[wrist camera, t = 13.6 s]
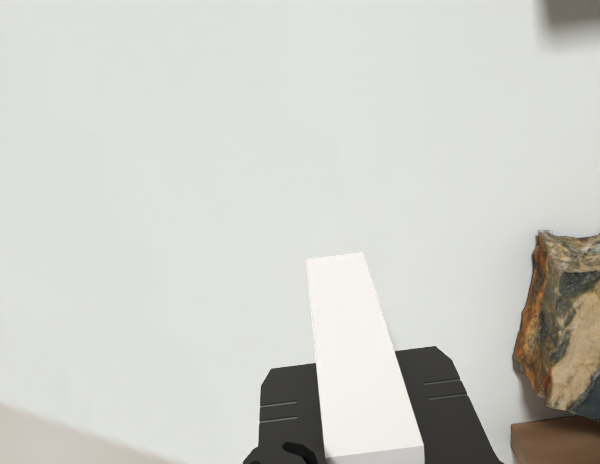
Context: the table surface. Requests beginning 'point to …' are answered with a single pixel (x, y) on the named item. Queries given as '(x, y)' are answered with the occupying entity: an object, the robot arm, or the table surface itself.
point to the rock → (563, 325)
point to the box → (557, 441)
